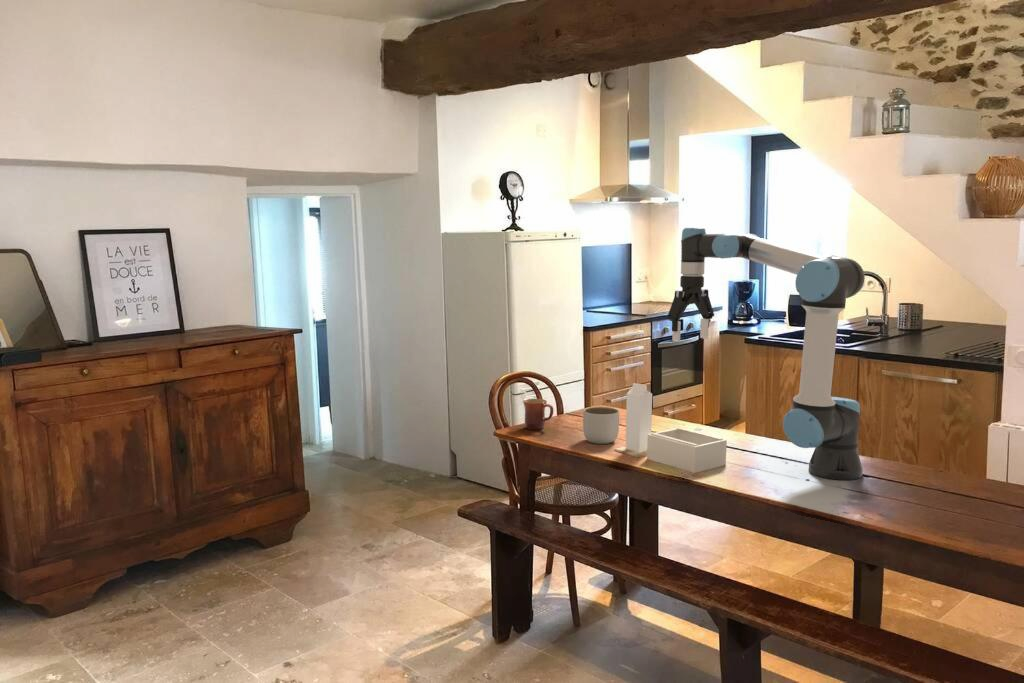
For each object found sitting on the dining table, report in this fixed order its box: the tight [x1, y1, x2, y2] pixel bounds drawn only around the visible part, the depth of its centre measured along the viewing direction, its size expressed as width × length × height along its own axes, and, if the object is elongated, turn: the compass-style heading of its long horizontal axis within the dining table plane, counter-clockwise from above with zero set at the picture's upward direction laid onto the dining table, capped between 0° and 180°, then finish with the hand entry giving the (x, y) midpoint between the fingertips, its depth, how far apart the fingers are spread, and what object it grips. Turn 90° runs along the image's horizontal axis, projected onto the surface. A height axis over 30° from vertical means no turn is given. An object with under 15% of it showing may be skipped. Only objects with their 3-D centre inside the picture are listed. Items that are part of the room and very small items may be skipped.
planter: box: [582, 406, 620, 445], centre depth 286 cm, size 12×12×11 cm
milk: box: [625, 382, 653, 453], centre depth 272 cm, size 6×6×22 cm
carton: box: [646, 427, 728, 474], centre depth 261 cm, size 20×15×8 cm
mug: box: [522, 398, 554, 431], centre depth 304 cm, size 12×9×10 cm
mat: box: [614, 445, 647, 459], centre depth 274 cm, size 11×11×1 cm
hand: (690, 339), depth 273 cm, fingers open, 13 cm apart
